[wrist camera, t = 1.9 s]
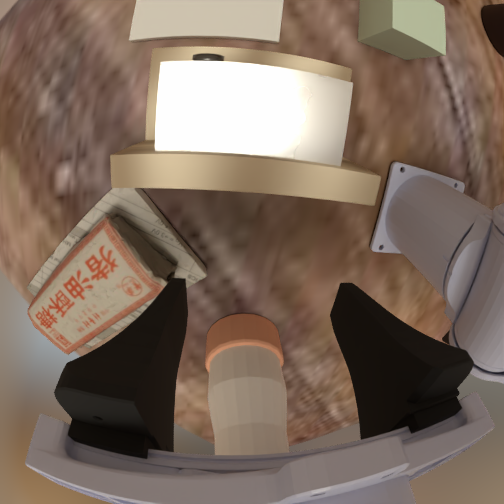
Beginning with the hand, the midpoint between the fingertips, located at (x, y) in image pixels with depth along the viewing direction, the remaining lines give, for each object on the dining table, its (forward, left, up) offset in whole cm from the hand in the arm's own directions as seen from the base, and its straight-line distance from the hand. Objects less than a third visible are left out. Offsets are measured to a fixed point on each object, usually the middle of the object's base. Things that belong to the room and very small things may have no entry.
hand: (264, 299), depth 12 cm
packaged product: (+13, +6, -10) cm, 18 cm away
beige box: (+1, -8, -9) cm, 12 cm away
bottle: (-24, -26, -10) cm, 37 cm away
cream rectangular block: (+1, -8, -8) cm, 12 cm away
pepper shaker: (0, +13, -10) cm, 16 cm away
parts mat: (+5, -18, -9) cm, 21 cm away
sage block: (-8, -17, -9) cm, 21 cm away
